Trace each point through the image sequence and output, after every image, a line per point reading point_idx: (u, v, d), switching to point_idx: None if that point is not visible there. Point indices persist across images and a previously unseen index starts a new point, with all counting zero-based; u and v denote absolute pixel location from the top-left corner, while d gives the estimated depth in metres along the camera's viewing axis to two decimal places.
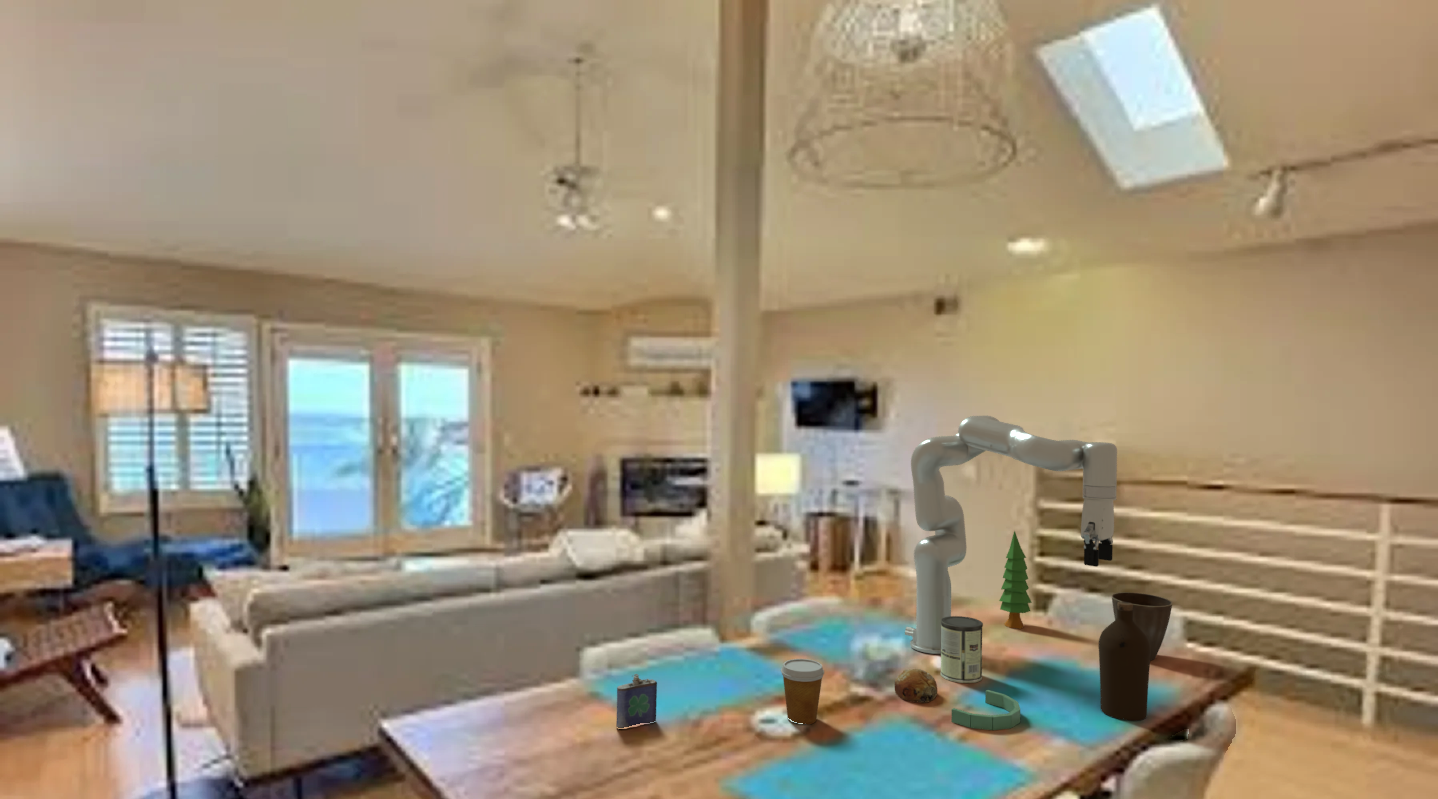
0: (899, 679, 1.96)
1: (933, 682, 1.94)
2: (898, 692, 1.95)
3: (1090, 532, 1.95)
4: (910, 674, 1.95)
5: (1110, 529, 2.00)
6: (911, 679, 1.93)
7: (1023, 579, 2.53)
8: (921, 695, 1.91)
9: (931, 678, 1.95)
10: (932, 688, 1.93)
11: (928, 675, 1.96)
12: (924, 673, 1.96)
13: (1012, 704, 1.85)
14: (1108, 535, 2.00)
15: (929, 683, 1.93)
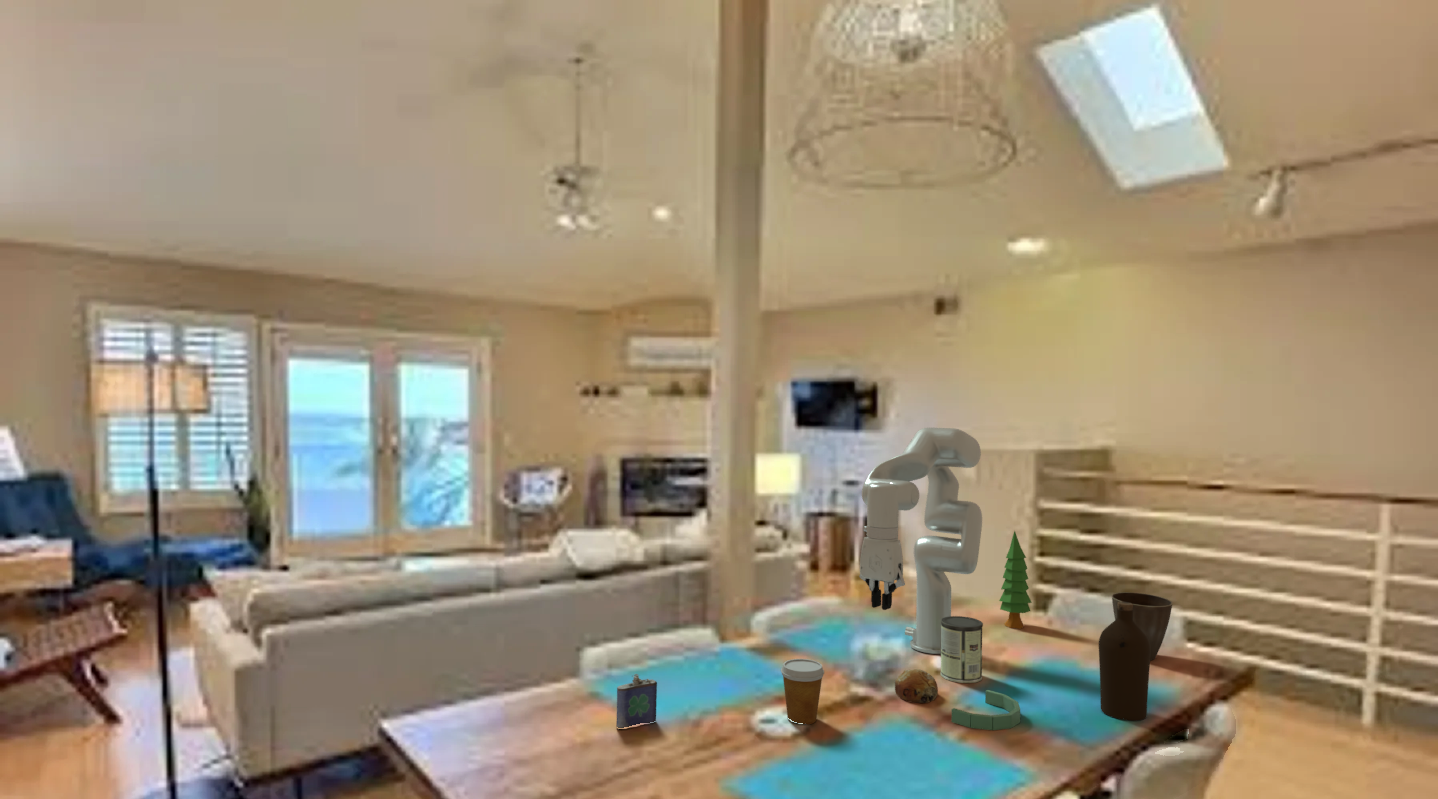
0: (899, 679, 1.95)
1: (933, 682, 1.94)
2: (898, 692, 1.94)
3: None
4: (911, 674, 1.94)
5: None
6: (912, 679, 1.93)
7: (1023, 579, 2.53)
8: (921, 695, 1.91)
9: (931, 678, 1.95)
10: (932, 688, 1.93)
11: (928, 675, 1.95)
12: (924, 673, 1.96)
13: (1012, 704, 1.85)
14: None
15: (929, 683, 1.93)
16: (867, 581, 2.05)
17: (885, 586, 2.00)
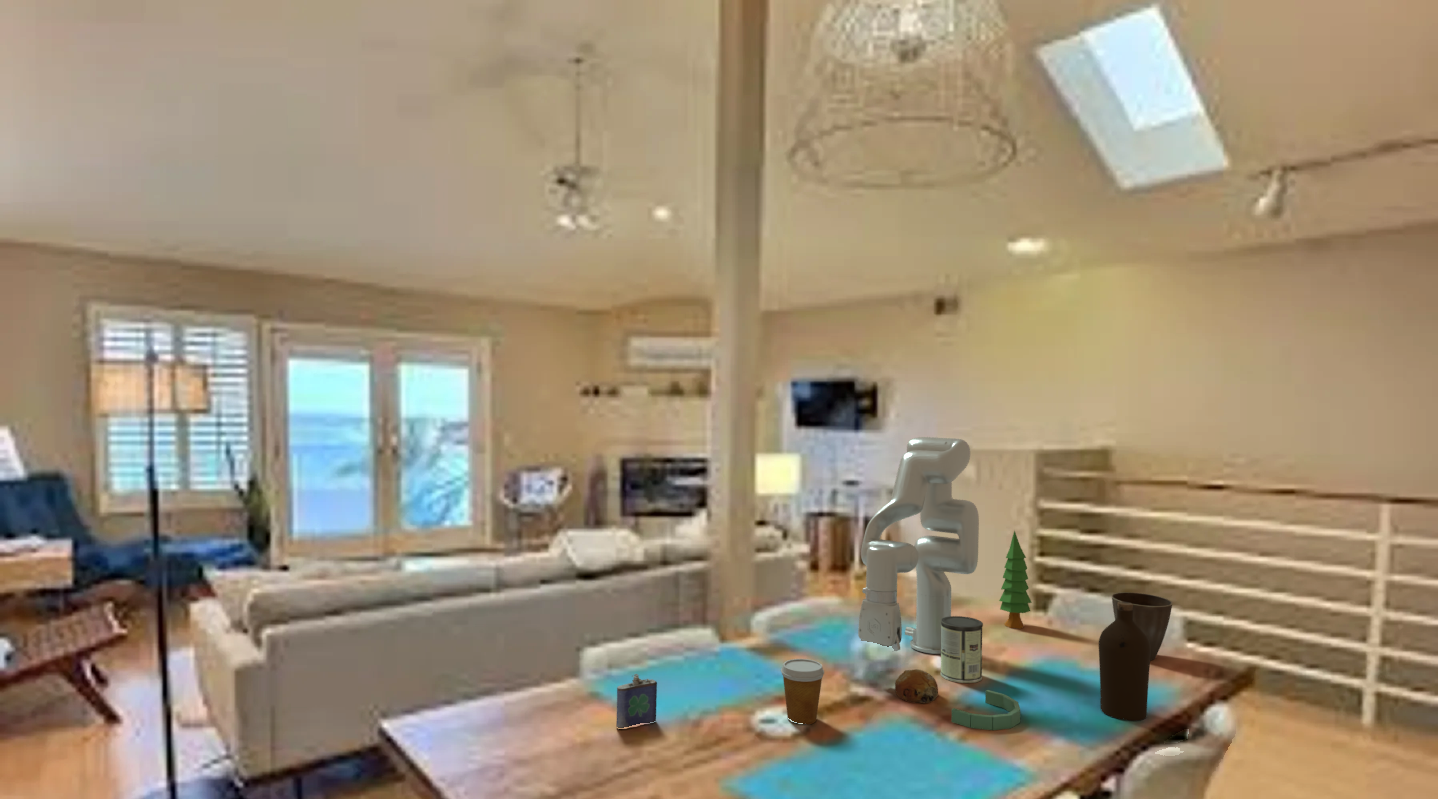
0: (900, 680, 1.95)
1: (934, 683, 1.94)
2: (899, 693, 1.94)
3: None
4: (911, 674, 1.94)
5: None
6: (912, 680, 1.93)
7: (1023, 579, 2.53)
8: (922, 696, 1.91)
9: (932, 679, 1.95)
10: (933, 689, 1.93)
11: (929, 676, 1.95)
12: (925, 674, 1.95)
13: (1012, 704, 1.85)
14: None
15: (930, 684, 1.93)
16: None
17: None
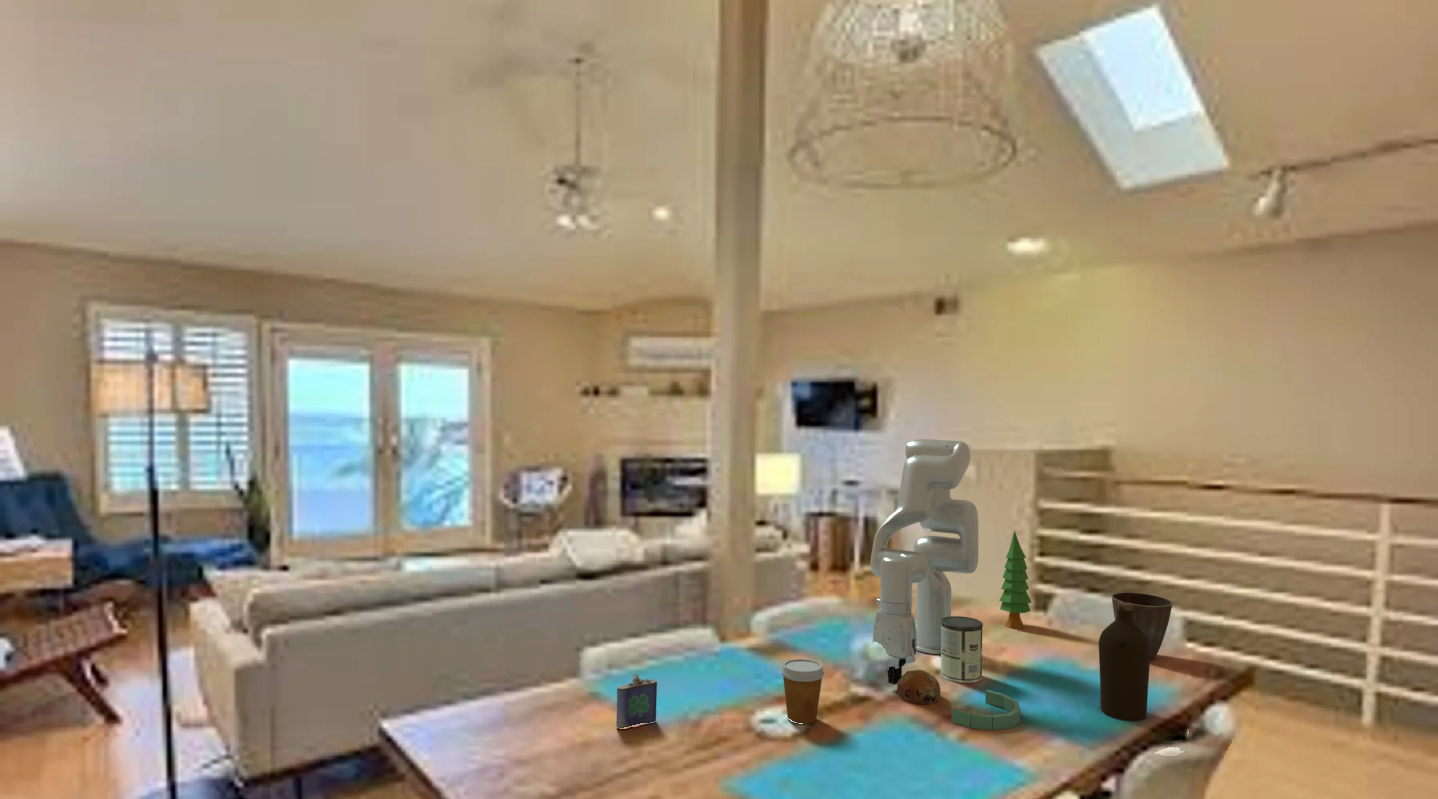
0: (902, 680, 1.95)
1: (936, 683, 1.93)
2: (901, 693, 1.94)
3: None
4: (913, 675, 1.94)
5: None
6: (914, 680, 1.92)
7: (1023, 579, 2.53)
8: (924, 696, 1.90)
9: (934, 679, 1.94)
10: (935, 689, 1.92)
11: (931, 676, 1.94)
12: (927, 674, 1.95)
13: (1012, 704, 1.85)
14: None
15: (932, 684, 1.92)
16: None
17: (896, 661, 1.98)
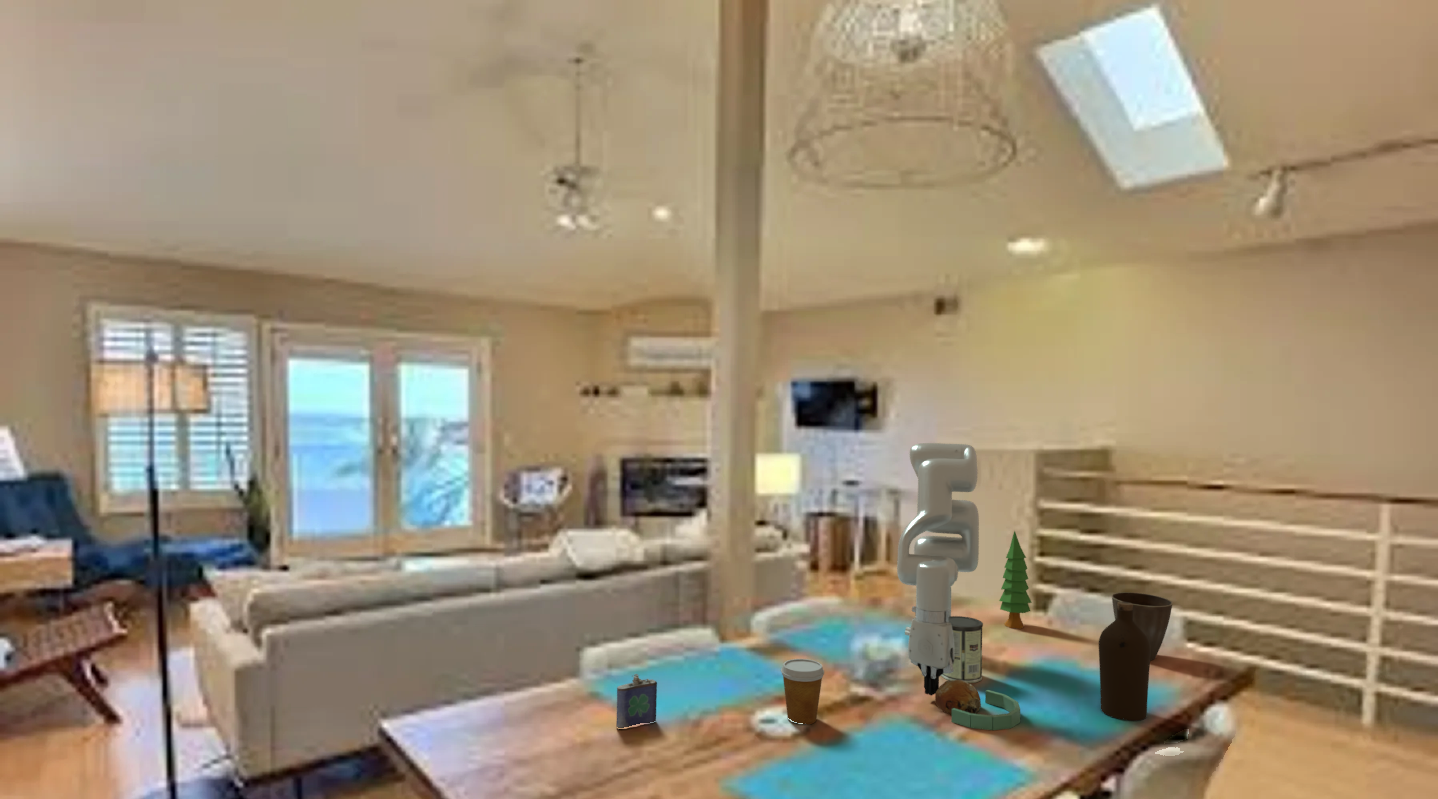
0: (941, 691, 1.88)
1: (976, 694, 1.87)
2: (940, 705, 1.87)
3: None
4: (953, 685, 1.87)
5: None
6: (955, 691, 1.85)
7: (1023, 579, 2.53)
8: (965, 708, 1.83)
9: (974, 690, 1.87)
10: (976, 700, 1.85)
11: (971, 687, 1.88)
12: (967, 684, 1.88)
13: (1012, 704, 1.85)
14: None
15: (973, 695, 1.85)
16: (919, 665, 1.94)
17: (933, 671, 1.91)
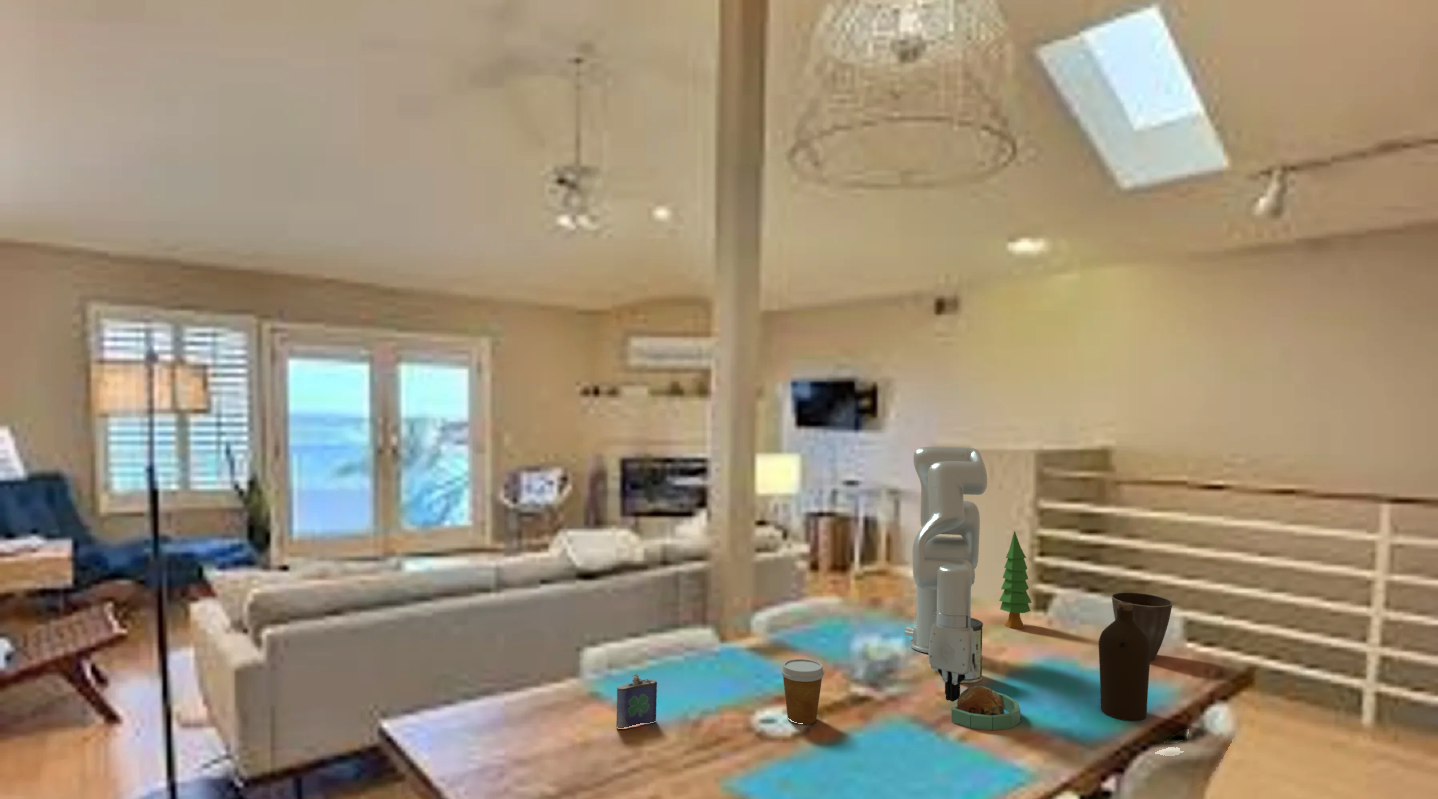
0: (964, 698, 1.84)
1: (1000, 701, 1.83)
2: None
3: None
4: (976, 692, 1.83)
5: None
6: (978, 698, 1.82)
7: (1023, 579, 2.53)
8: None
9: (997, 696, 1.84)
10: (1000, 707, 1.82)
11: (994, 693, 1.84)
12: (990, 691, 1.85)
13: (1012, 704, 1.85)
14: None
15: (996, 702, 1.82)
16: (940, 671, 1.90)
17: (954, 676, 1.87)
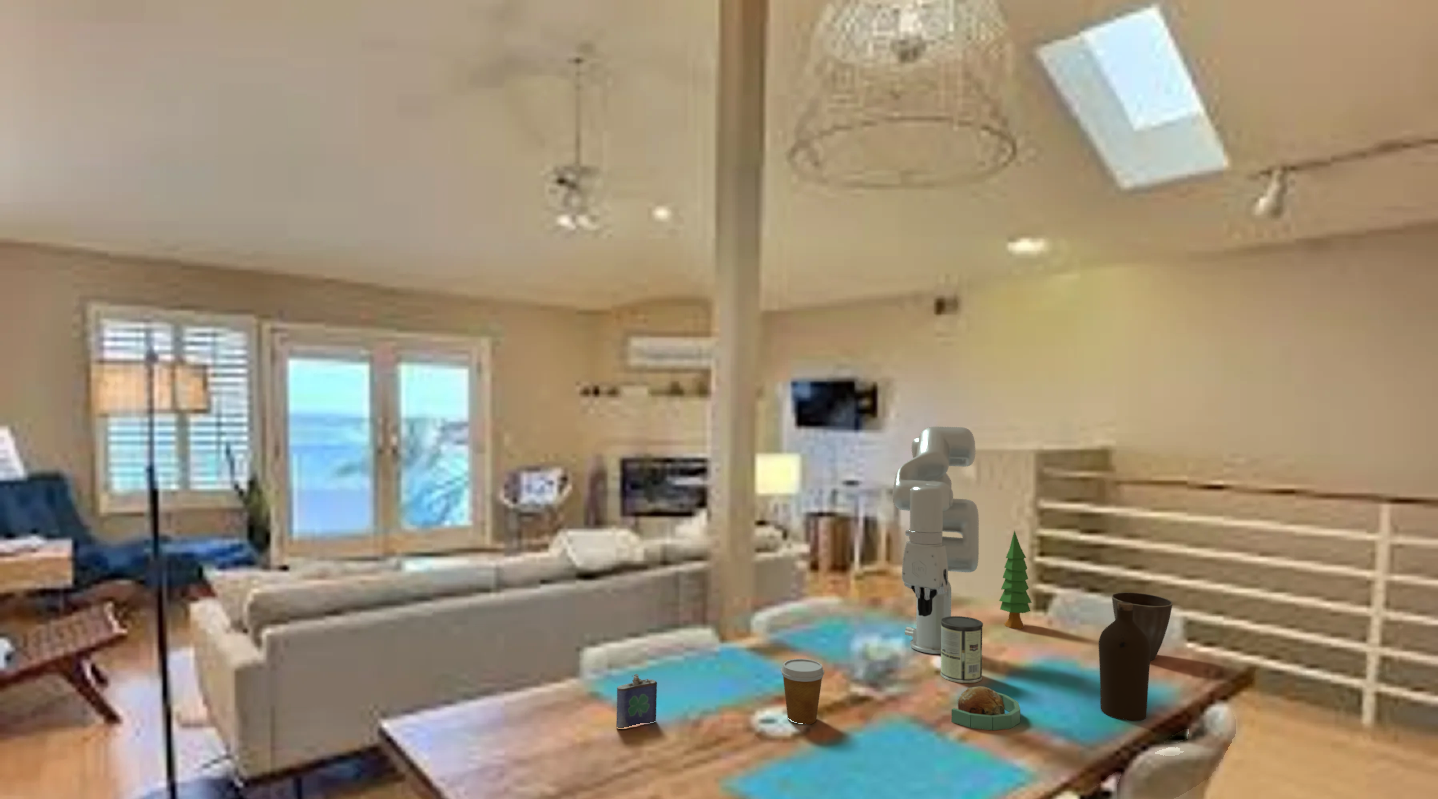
0: (964, 698, 1.84)
1: (1000, 701, 1.83)
2: None
3: None
4: (976, 692, 1.83)
5: None
6: (978, 698, 1.82)
7: (1023, 579, 2.53)
8: None
9: (998, 696, 1.84)
10: (1000, 707, 1.82)
11: (994, 693, 1.84)
12: (990, 691, 1.84)
13: (1012, 704, 1.85)
14: None
15: (997, 702, 1.82)
16: (913, 588, 1.96)
17: (926, 592, 1.93)
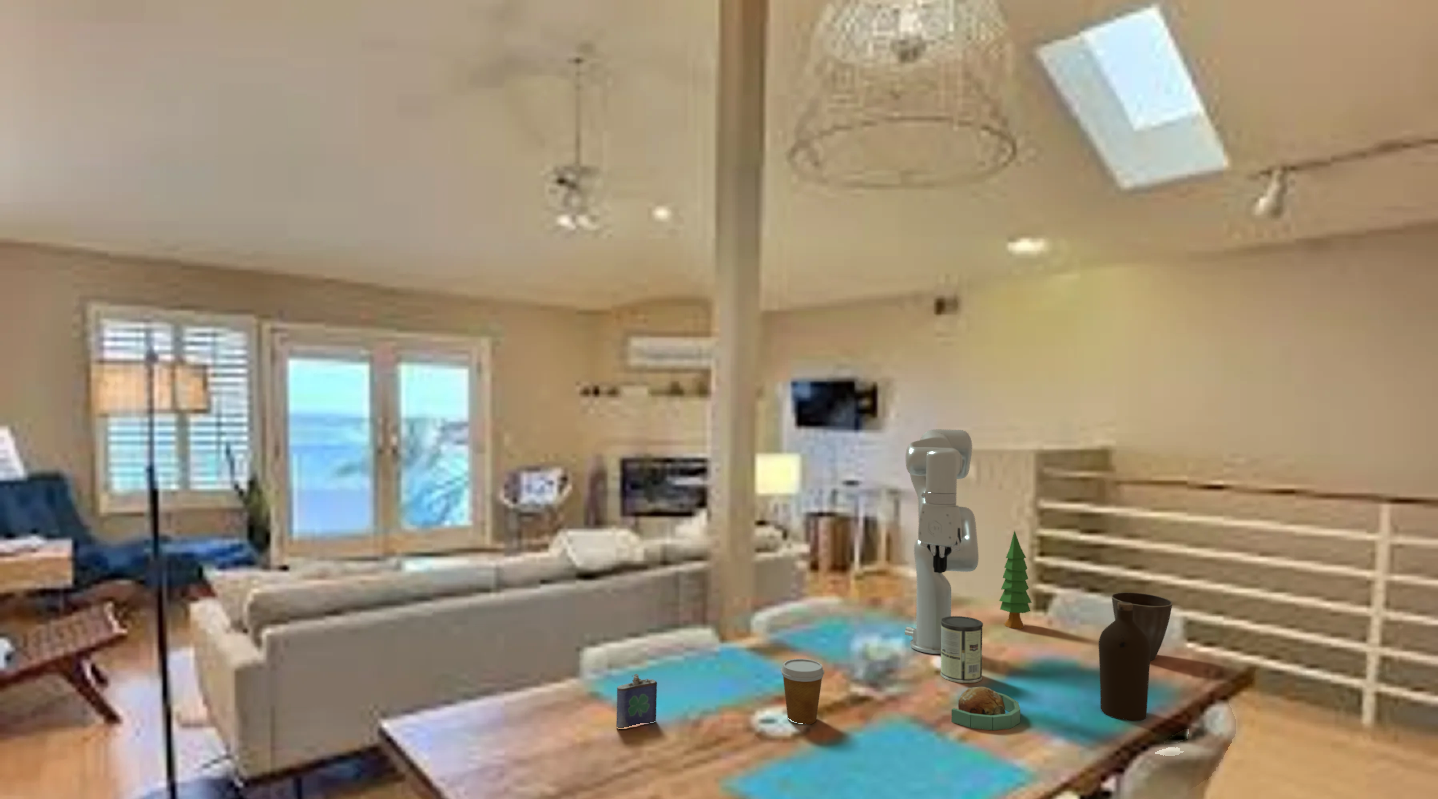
0: (964, 698, 1.84)
1: (1001, 701, 1.83)
2: None
3: None
4: (977, 693, 1.83)
5: None
6: (979, 698, 1.81)
7: (1023, 579, 2.53)
8: None
9: (998, 697, 1.83)
10: (1001, 708, 1.81)
11: (995, 694, 1.84)
12: (991, 691, 1.84)
13: (1012, 704, 1.85)
14: None
15: (997, 702, 1.81)
16: (929, 547, 2.08)
17: (941, 550, 2.05)
